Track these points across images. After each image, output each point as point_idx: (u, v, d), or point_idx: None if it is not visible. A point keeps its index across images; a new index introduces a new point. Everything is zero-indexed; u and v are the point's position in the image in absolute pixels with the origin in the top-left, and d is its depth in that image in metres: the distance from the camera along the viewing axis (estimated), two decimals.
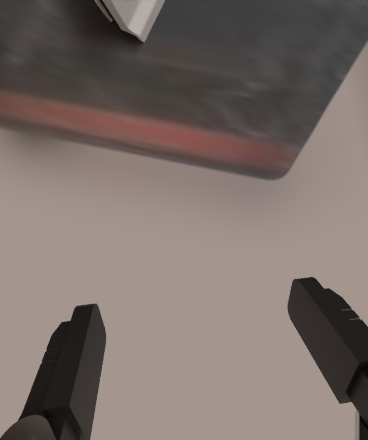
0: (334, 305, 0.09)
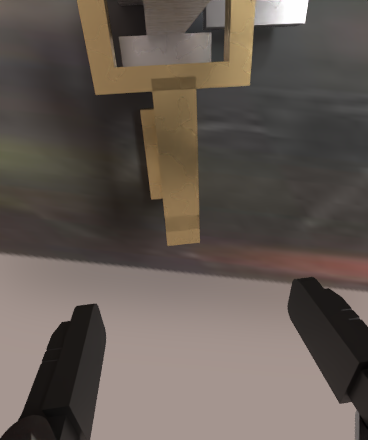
0: (334, 305, 0.09)
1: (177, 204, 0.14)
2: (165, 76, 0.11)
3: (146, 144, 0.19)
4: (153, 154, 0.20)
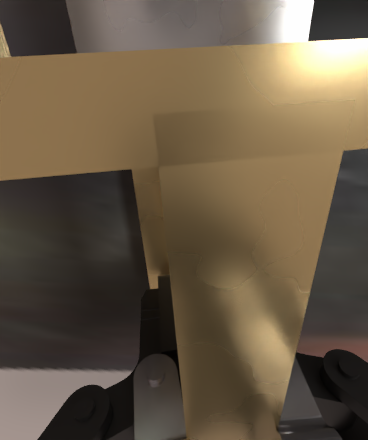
0: None
1: (223, 431, 0.05)
2: (221, 104, 0.02)
3: (142, 213, 0.11)
4: (155, 229, 0.11)
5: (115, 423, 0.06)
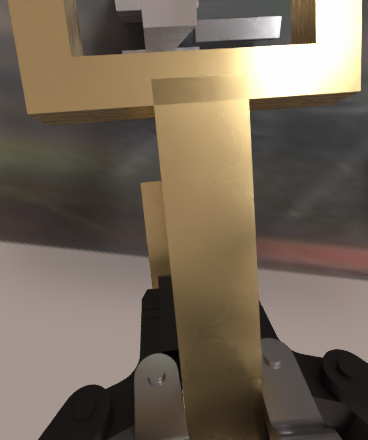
0: None
1: (211, 353, 0.06)
2: (183, 75, 0.05)
3: (148, 231, 0.13)
4: (159, 246, 0.13)
5: (116, 423, 0.06)
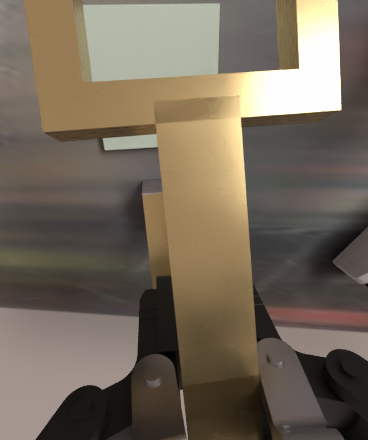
0: None
1: (210, 354, 0.07)
2: (181, 97, 0.06)
3: (150, 241, 0.13)
4: (160, 255, 0.13)
5: (113, 423, 0.06)
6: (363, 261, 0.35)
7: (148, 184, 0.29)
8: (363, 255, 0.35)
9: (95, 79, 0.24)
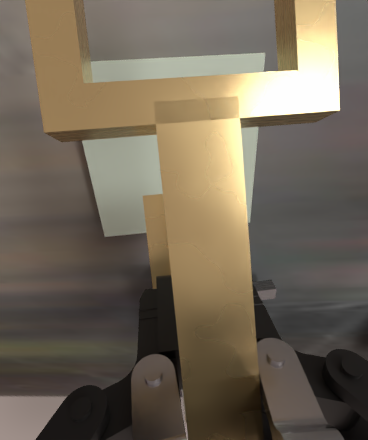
0: None
1: (210, 353, 0.07)
2: (181, 97, 0.06)
3: (150, 242, 0.13)
4: (160, 256, 0.13)
5: (113, 423, 0.06)
6: None
7: None
8: None
9: (90, 156, 0.18)
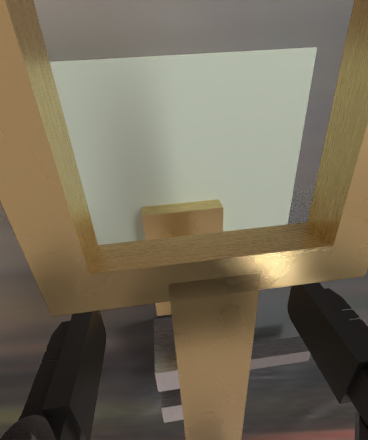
0: (334, 305, 0.09)
1: (207, 423, 0.08)
2: (199, 279, 0.05)
3: None
4: None
5: None
6: None
7: (164, 334, 0.17)
8: None
9: None
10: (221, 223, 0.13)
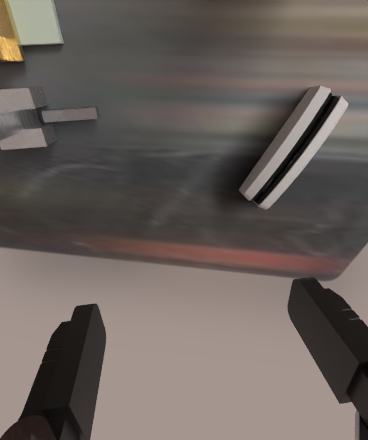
0: (334, 305, 0.09)
1: None
2: None
3: None
4: None
5: None
6: (252, 178, 0.34)
7: None
8: (254, 173, 0.34)
9: None
10: None
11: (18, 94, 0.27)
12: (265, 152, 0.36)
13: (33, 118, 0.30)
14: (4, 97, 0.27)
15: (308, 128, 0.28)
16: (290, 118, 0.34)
